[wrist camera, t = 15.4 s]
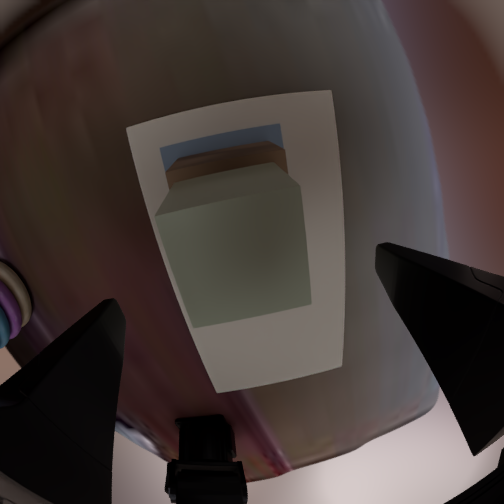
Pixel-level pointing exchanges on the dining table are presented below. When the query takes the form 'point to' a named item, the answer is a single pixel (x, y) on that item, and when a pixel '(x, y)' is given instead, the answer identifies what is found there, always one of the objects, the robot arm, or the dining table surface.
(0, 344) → the stacking toy
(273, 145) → the walnut block
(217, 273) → the sage block
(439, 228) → the dining table surface
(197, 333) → the build board
